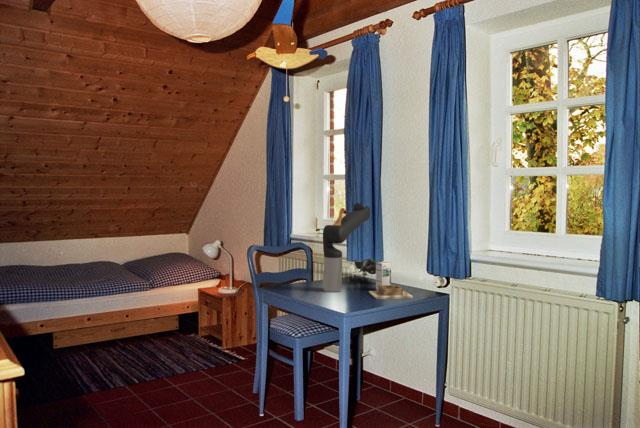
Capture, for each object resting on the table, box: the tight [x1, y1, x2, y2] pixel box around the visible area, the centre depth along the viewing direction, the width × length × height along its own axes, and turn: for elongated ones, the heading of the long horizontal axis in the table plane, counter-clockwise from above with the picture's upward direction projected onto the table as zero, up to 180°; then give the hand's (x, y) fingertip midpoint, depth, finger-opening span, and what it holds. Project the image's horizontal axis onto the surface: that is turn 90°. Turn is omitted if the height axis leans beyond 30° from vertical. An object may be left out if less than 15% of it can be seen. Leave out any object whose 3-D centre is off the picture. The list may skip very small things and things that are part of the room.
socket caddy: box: [368, 284, 414, 300], centre depth 265 cm, size 18×14×4 cm
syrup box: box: [375, 261, 392, 291], centre depth 277 cm, size 6×6×14 cm
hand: (378, 271), depth 287 cm, fingers open, 8 cm apart
